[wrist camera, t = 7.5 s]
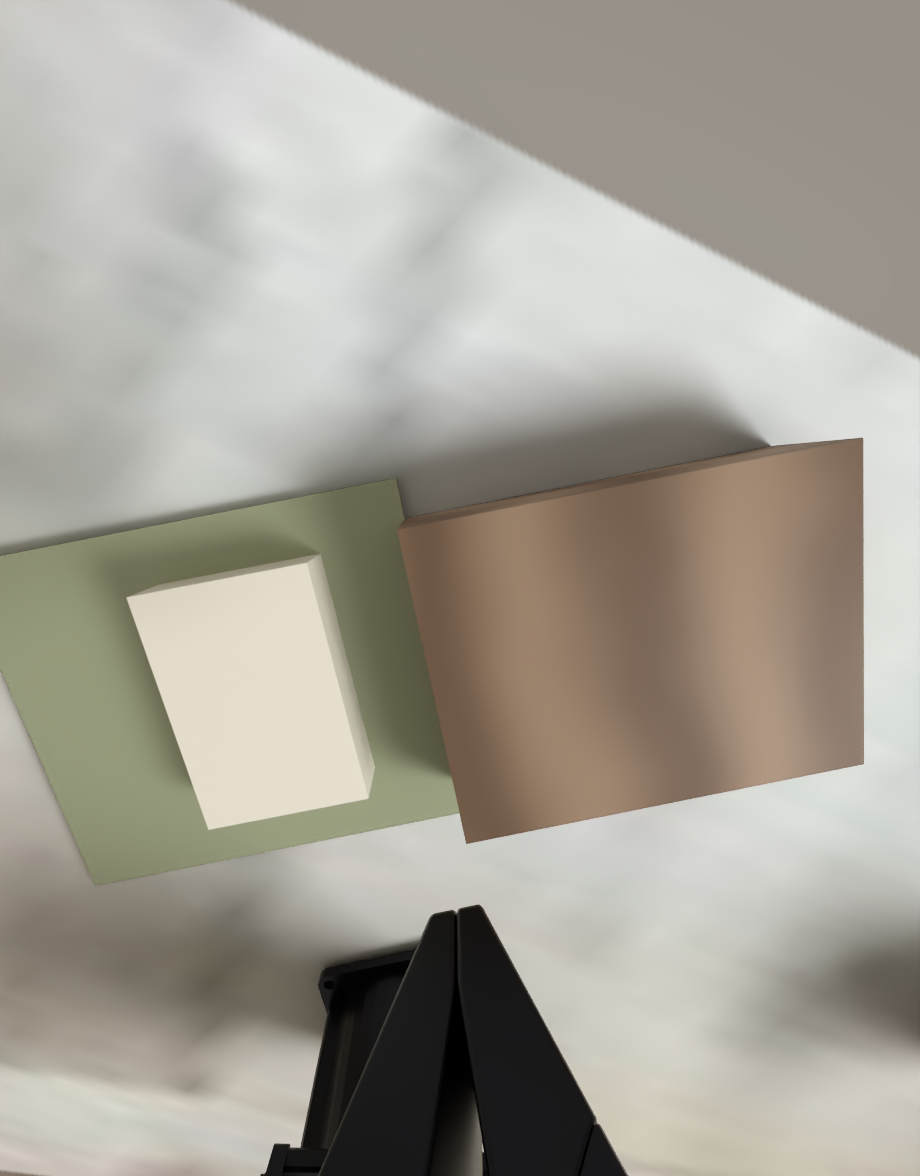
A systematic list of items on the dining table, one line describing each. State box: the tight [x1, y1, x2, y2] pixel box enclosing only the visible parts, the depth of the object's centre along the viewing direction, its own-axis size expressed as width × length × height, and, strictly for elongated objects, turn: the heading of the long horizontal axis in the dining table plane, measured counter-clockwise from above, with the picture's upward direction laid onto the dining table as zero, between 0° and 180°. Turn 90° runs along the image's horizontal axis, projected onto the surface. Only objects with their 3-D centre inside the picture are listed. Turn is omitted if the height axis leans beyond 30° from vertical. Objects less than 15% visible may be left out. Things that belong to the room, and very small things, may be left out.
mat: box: [0, 478, 460, 886], centre depth 19 cm, size 16×14×1 cm
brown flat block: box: [397, 438, 864, 844], centre depth 18 cm, size 14×11×4 cm
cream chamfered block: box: [126, 554, 375, 830], centre depth 18 cm, size 6×9×2 cm, turn 10°
